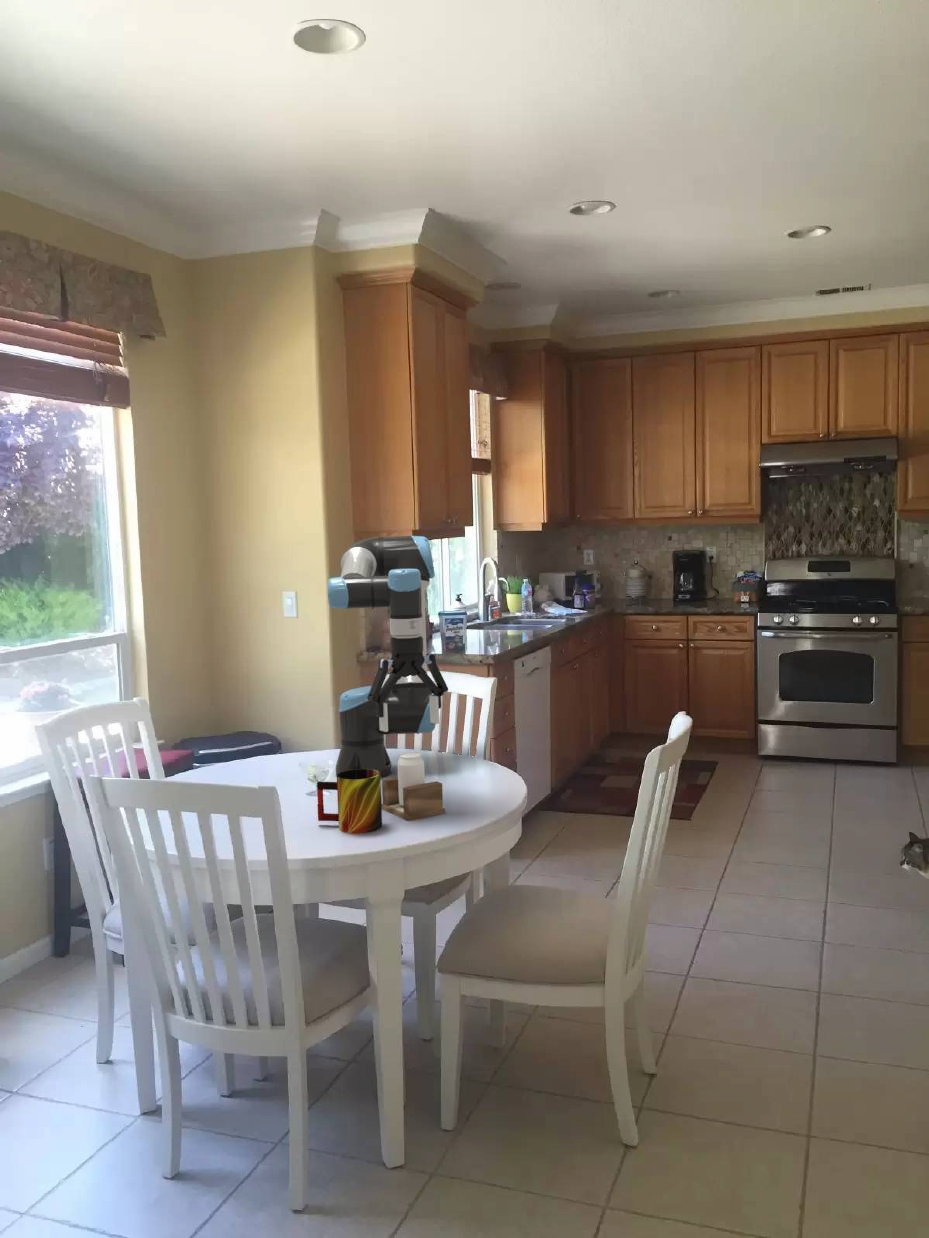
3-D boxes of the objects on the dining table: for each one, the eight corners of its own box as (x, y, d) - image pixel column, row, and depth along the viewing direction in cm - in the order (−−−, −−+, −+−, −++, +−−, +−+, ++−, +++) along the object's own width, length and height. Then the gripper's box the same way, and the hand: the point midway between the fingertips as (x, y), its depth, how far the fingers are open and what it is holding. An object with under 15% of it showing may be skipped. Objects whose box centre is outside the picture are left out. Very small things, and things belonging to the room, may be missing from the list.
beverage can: (396, 808, 237) (394, 757, 236) (402, 801, 243) (400, 751, 242) (422, 809, 236) (420, 758, 235) (428, 802, 242) (426, 752, 241)
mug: (318, 824, 230) (315, 772, 229) (379, 819, 233) (377, 767, 232) (321, 837, 221) (319, 782, 220) (385, 831, 224) (383, 777, 223)
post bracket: (380, 808, 242) (379, 779, 241) (417, 801, 247) (416, 772, 247) (408, 820, 231) (406, 790, 231) (445, 812, 237) (444, 783, 236)
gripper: (365, 642, 226) (369, 736, 228) (460, 632, 239) (463, 722, 241) (350, 639, 232) (354, 731, 234) (443, 630, 245) (446, 717, 248)
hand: (409, 726), depth 238 cm, fingers open, 13 cm apart
